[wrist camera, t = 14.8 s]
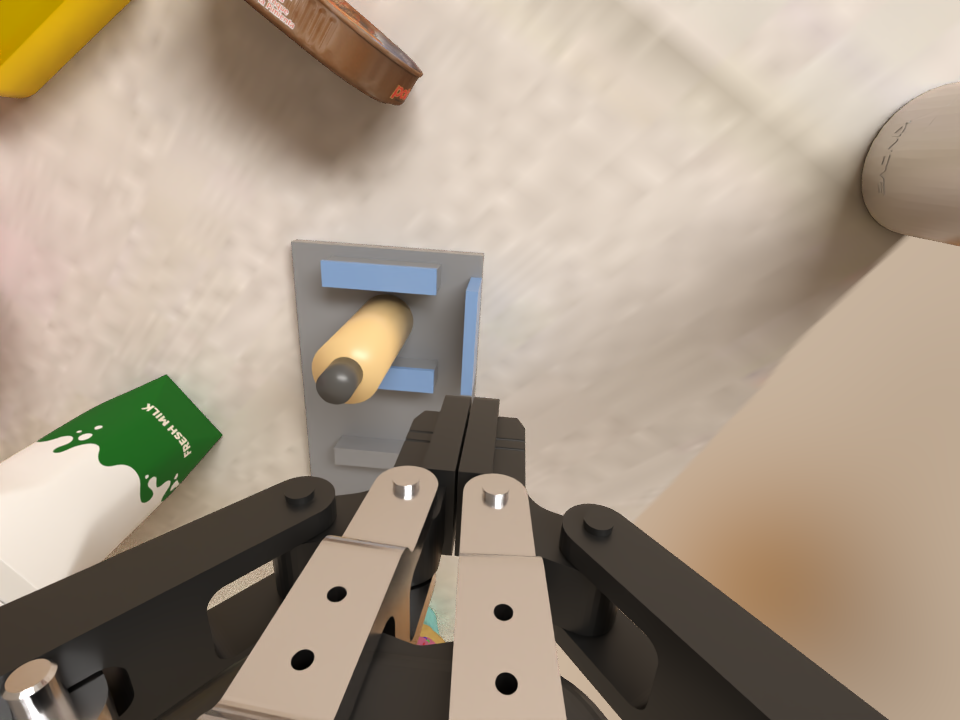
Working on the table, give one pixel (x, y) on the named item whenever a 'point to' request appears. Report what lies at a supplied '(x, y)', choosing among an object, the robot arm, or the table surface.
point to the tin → (345, 45)
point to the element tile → (45, 38)
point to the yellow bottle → (362, 351)
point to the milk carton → (94, 483)
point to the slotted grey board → (416, 369)
